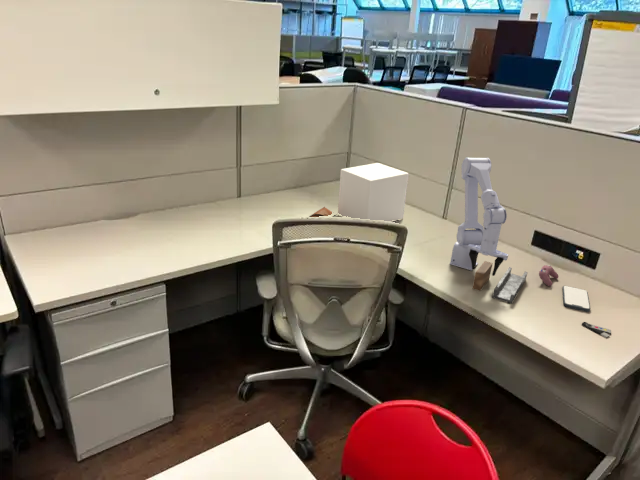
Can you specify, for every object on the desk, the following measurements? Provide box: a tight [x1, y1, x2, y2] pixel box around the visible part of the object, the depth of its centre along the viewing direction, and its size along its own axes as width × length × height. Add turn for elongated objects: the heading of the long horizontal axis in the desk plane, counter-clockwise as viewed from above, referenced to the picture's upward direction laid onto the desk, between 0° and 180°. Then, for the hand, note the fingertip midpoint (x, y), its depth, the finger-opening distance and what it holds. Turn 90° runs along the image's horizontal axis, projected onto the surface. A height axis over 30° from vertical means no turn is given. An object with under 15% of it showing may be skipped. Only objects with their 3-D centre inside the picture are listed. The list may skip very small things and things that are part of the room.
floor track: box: [492, 266, 529, 304], centre depth 184 cm, size 7×22×4 cm, turn 147°
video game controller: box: [538, 264, 559, 288], centre depth 191 cm, size 10×5×7 cm, turn 141°
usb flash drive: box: [581, 321, 612, 339], centre depth 162 cm, size 9×5×1 cm, turn 32°
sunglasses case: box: [308, 206, 333, 217], centre depth 241 cm, size 18×7×7 cm
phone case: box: [561, 285, 591, 313], centre depth 180 cm, size 9×2×16 cm
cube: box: [337, 162, 410, 221], centre depth 241 cm, size 25×21×24 cm
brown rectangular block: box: [472, 260, 493, 292], centre depth 186 cm, size 3×12×7 cm, turn 147°
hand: (483, 271), depth 185 cm, fingers open, 7 cm apart
